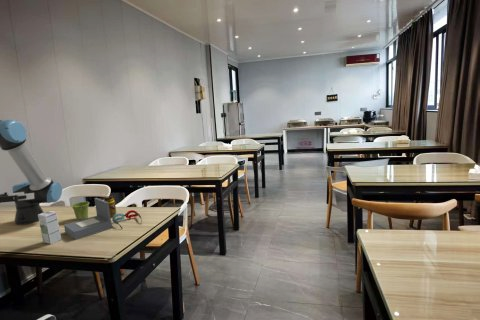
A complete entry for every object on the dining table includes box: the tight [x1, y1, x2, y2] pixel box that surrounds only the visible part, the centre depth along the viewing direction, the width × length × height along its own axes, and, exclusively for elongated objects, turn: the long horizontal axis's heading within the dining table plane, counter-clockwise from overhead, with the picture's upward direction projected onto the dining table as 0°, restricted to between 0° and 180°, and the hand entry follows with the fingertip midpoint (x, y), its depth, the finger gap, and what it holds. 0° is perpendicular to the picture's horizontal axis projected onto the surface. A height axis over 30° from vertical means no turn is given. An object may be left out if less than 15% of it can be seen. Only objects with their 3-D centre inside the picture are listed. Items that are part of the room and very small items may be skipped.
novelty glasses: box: [111, 209, 143, 230], centre depth 168 cm, size 14×15×5 cm
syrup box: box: [38, 210, 62, 245], centre depth 149 cm, size 6×6×14 cm
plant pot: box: [71, 201, 90, 221], centre depth 181 cm, size 9×9×9 cm
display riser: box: [63, 197, 113, 240], centre depth 161 cm, size 16×18×14 cm
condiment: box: [103, 195, 119, 219], centre depth 180 cm, size 7×8×12 cm
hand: (28, 195), depth 148 cm, fingers open, 13 cm apart
